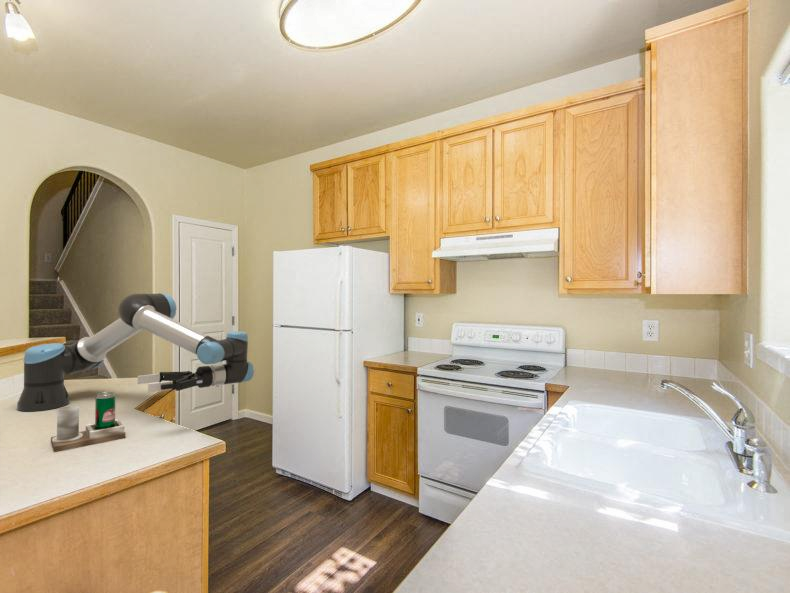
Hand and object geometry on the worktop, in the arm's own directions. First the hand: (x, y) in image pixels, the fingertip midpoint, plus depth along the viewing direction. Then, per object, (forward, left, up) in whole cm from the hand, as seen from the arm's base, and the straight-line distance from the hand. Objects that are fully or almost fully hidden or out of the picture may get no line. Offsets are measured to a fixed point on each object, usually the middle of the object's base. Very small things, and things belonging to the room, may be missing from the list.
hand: (142, 384), depth 132 cm
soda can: (+8, -5, -14) cm, 17 cm away
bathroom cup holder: (+12, -7, -15) cm, 21 cm away
